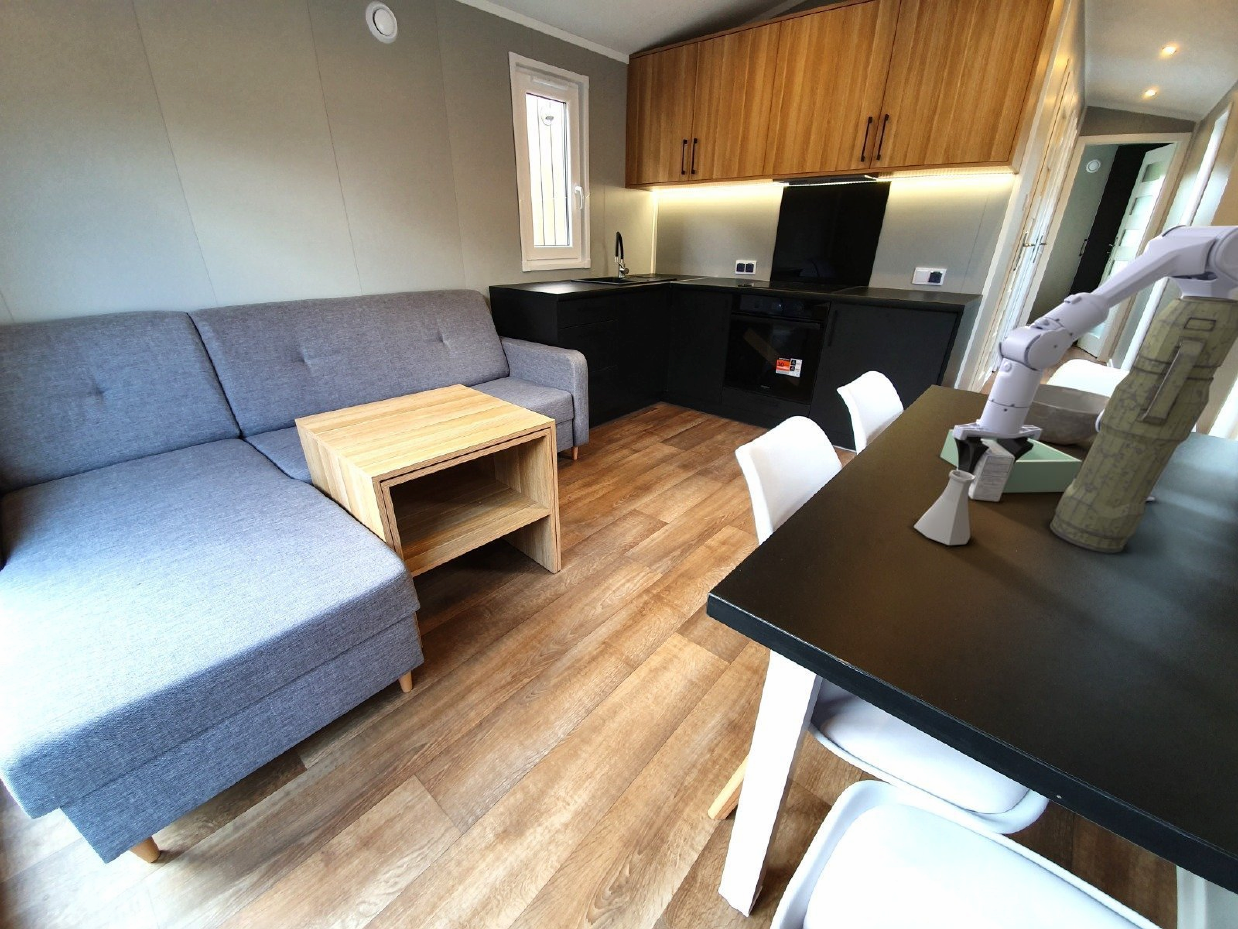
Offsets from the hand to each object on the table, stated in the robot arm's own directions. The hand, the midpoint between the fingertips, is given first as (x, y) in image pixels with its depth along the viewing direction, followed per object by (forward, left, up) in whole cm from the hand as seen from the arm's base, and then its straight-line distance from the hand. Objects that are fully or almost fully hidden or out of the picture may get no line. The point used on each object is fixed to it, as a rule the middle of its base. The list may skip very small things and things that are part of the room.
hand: (979, 475), depth 87 cm
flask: (+16, +13, -3) cm, 21 cm away
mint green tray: (-11, -7, -3) cm, 13 cm away
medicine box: (0, 0, -3) cm, 3 cm away
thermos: (-7, +15, -3) cm, 17 cm away
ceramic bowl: (-38, -25, -3) cm, 46 cm away
